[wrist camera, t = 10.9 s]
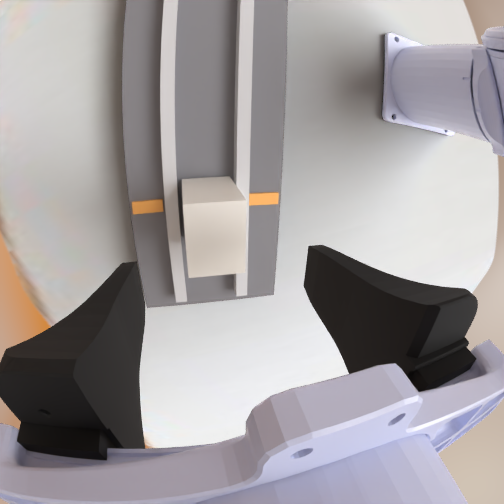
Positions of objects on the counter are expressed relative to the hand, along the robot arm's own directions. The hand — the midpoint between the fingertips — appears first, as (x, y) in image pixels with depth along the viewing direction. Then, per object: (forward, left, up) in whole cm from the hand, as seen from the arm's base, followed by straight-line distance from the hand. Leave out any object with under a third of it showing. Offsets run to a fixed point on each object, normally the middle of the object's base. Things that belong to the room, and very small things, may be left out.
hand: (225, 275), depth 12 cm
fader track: (0, -7, -10) cm, 13 cm away
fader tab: (0, 0, -8) cm, 8 cm away
